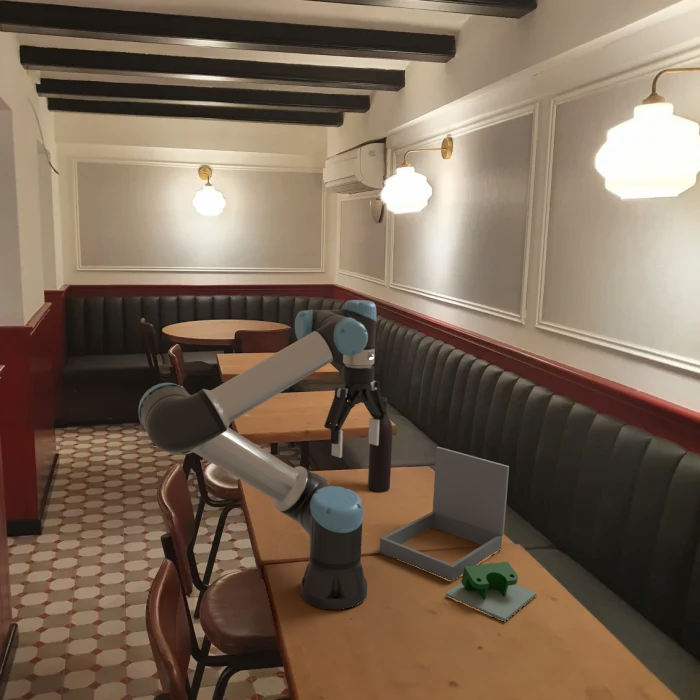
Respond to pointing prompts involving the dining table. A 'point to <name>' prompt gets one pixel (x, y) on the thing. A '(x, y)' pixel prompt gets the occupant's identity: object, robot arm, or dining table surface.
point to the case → (458, 512)
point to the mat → (494, 600)
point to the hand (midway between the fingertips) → (355, 450)
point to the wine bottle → (381, 457)
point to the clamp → (489, 577)
